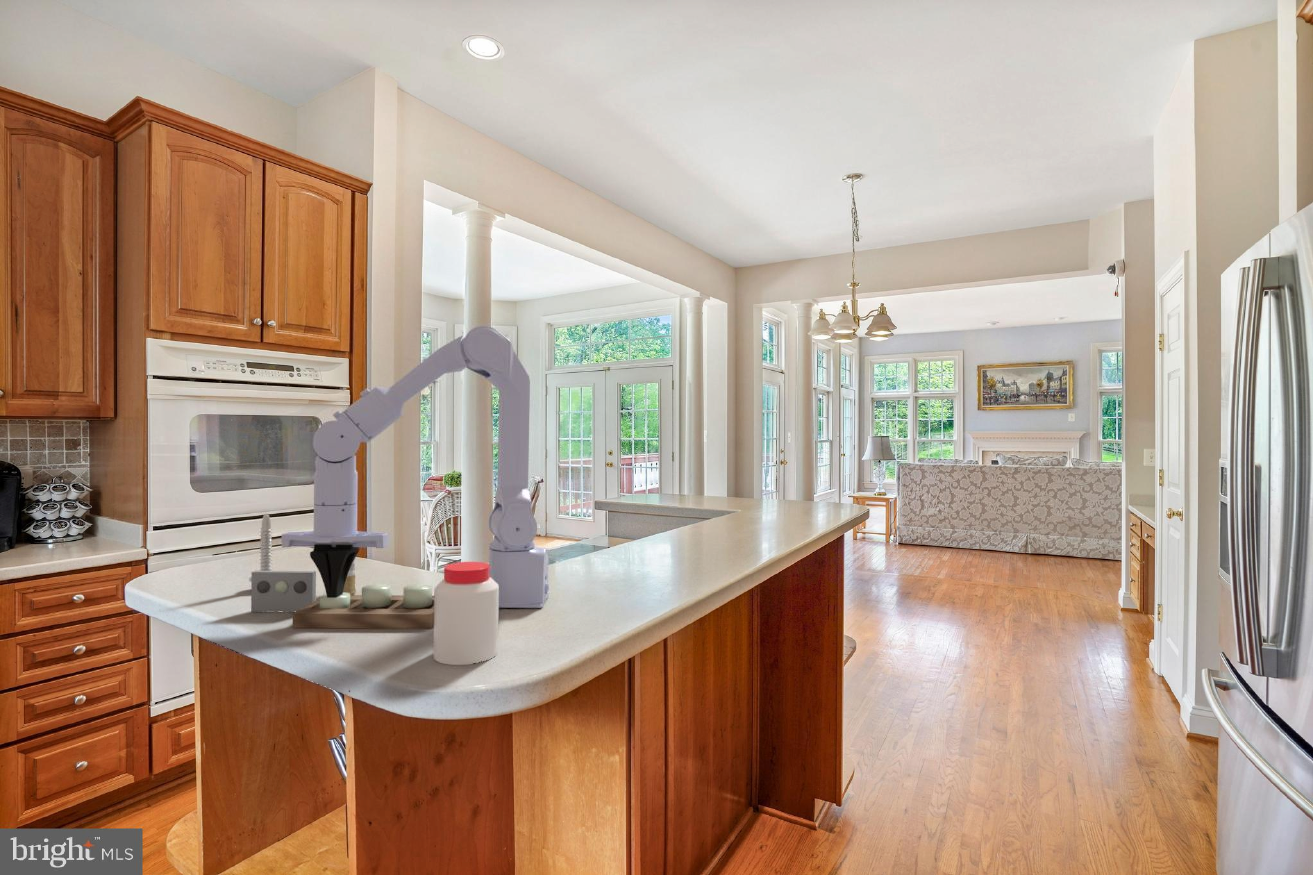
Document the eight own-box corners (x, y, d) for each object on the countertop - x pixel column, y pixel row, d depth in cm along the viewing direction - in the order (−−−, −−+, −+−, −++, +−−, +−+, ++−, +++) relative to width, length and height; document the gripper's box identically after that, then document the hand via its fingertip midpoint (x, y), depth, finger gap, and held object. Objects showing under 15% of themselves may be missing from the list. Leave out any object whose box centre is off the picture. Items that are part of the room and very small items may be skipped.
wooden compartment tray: (451, 608, 100) (451, 595, 100) (430, 628, 90) (431, 614, 90) (326, 607, 99) (327, 594, 99) (292, 627, 89) (292, 613, 89)
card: (315, 610, 98) (315, 571, 97) (311, 612, 96) (312, 572, 96) (255, 610, 97) (255, 570, 97) (250, 612, 96) (250, 572, 96)
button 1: (354, 608, 96) (354, 592, 96) (342, 616, 92) (342, 599, 92) (327, 608, 96) (327, 592, 96) (314, 616, 92) (314, 599, 92)
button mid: (395, 600, 96) (395, 584, 96) (385, 607, 92) (385, 590, 92) (368, 600, 96) (368, 583, 96) (356, 607, 92) (356, 590, 92)
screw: (266, 585, 113) (288, 587, 111) (241, 591, 108) (264, 594, 107) (267, 510, 112) (289, 512, 111) (242, 514, 108) (265, 515, 106)
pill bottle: (436, 669, 75) (437, 575, 75) (430, 647, 82) (431, 562, 82) (503, 660, 78) (504, 570, 78) (492, 640, 85) (493, 558, 85)
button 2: (435, 600, 97) (435, 584, 97) (427, 608, 93) (427, 590, 93) (408, 600, 97) (409, 584, 96) (399, 608, 93) (399, 590, 92)
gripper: (269, 506, 90) (268, 603, 90) (375, 507, 90) (373, 603, 90) (296, 500, 97) (295, 590, 97) (393, 501, 97) (392, 591, 97)
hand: (334, 596), depth 94 cm, fingers closed, pressing on button 1
